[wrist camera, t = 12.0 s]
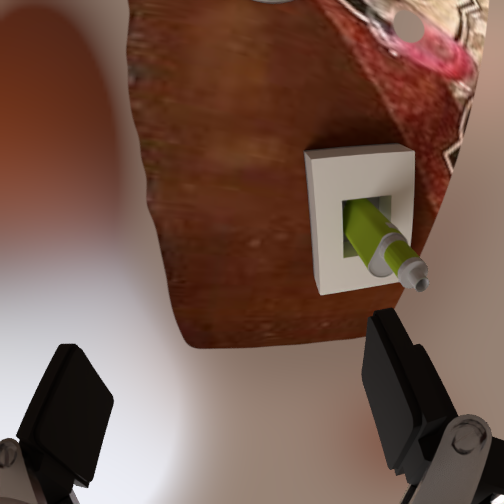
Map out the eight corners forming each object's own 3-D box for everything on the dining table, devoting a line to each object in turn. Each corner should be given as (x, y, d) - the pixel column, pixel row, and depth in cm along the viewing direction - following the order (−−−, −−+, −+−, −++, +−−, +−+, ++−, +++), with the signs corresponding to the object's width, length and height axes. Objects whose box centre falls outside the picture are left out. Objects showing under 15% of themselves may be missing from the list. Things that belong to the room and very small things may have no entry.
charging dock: (303, 150, 42) (311, 159, 37) (397, 143, 41) (414, 151, 37) (313, 275, 52) (320, 295, 47) (394, 262, 51) (406, 280, 46)
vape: (372, 198, 44) (445, 272, 27) (355, 234, 47) (414, 320, 30) (351, 190, 44) (419, 262, 26) (334, 226, 46) (387, 314, 29)
